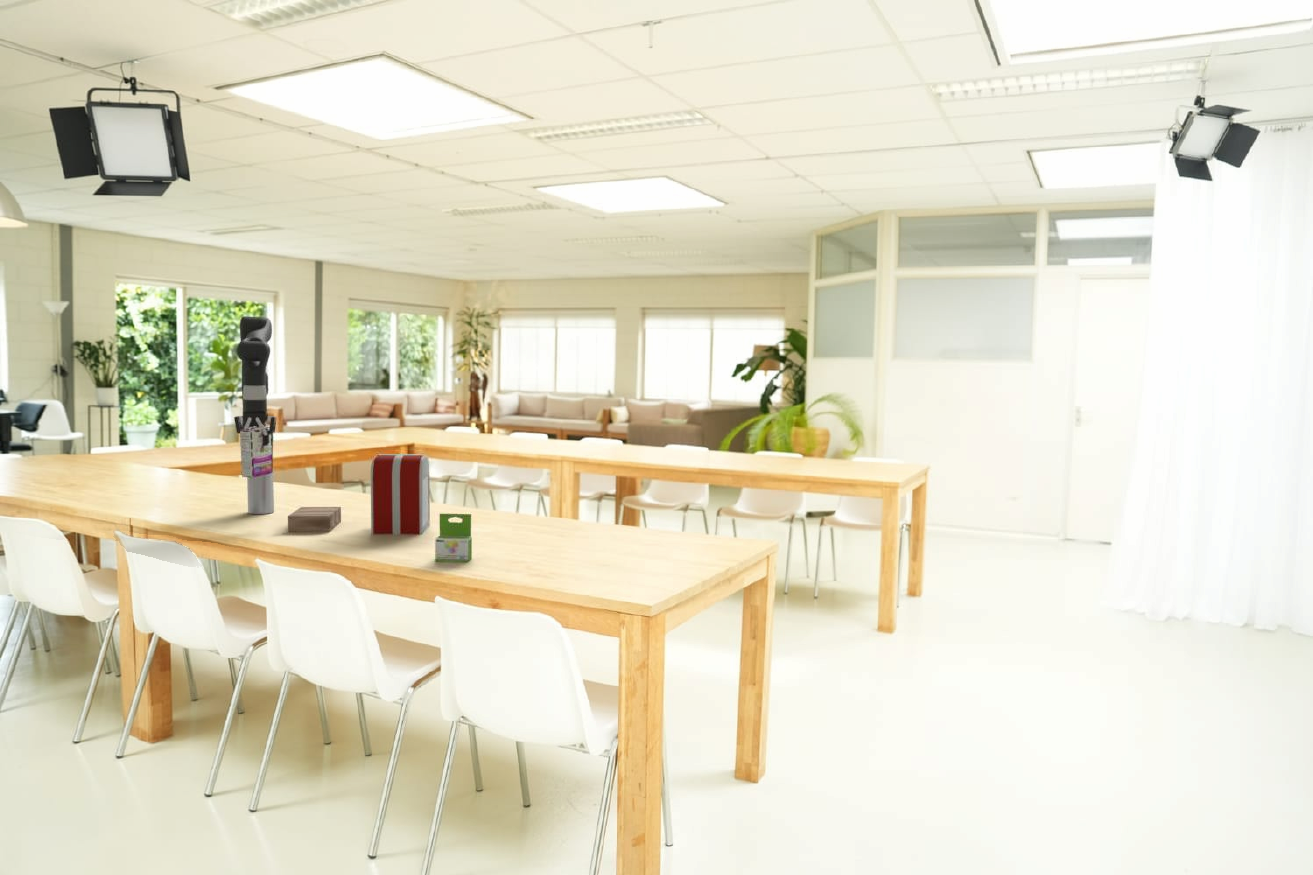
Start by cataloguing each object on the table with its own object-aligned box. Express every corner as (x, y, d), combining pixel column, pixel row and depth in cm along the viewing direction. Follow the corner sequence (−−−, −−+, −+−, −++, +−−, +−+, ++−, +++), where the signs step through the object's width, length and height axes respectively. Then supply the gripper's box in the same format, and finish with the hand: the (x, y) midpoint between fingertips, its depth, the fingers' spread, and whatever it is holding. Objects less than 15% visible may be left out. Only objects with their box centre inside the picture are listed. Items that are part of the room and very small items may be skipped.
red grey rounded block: (381, 524, 318) (380, 451, 315) (430, 524, 319) (429, 452, 317) (370, 534, 301) (369, 457, 299) (422, 534, 303) (421, 457, 300)
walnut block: (301, 523, 320) (301, 507, 319) (341, 522, 322) (340, 506, 321) (288, 533, 302) (287, 516, 301) (330, 532, 304) (329, 515, 303)
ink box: (434, 561, 265) (434, 516, 263) (438, 557, 270) (438, 513, 269) (468, 562, 265) (468, 517, 263) (471, 558, 270) (472, 513, 269)
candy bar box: (260, 472, 315) (259, 427, 313) (273, 473, 314) (272, 428, 312) (240, 476, 304) (239, 430, 302) (253, 477, 303) (251, 430, 301)
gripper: (279, 397, 311) (280, 444, 312) (237, 397, 309) (239, 444, 311) (272, 399, 303) (273, 447, 305) (229, 398, 302) (231, 446, 303)
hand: (256, 445), depth 308 cm, fingers closed on candy bar box, 6 cm apart
